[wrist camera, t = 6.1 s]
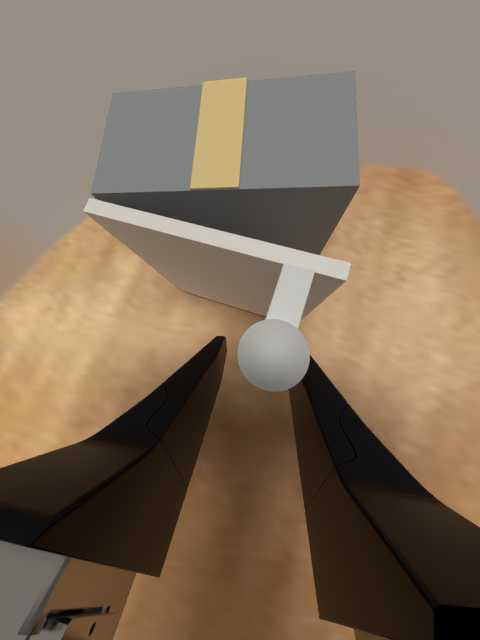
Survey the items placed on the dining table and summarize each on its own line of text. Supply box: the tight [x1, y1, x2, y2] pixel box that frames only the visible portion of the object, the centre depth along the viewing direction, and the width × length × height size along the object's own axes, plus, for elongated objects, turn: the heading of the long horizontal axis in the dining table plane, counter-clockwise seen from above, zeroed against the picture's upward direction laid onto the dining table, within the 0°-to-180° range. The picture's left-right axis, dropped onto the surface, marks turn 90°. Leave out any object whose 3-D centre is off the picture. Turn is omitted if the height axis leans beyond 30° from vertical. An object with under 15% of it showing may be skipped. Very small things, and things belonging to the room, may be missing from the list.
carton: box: [91, 71, 360, 255], centre depth 12 cm, size 5×10×10 cm, turn 86°
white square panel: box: [84, 198, 351, 392], centre depth 11 cm, size 4×10×10 cm, turn 71°
